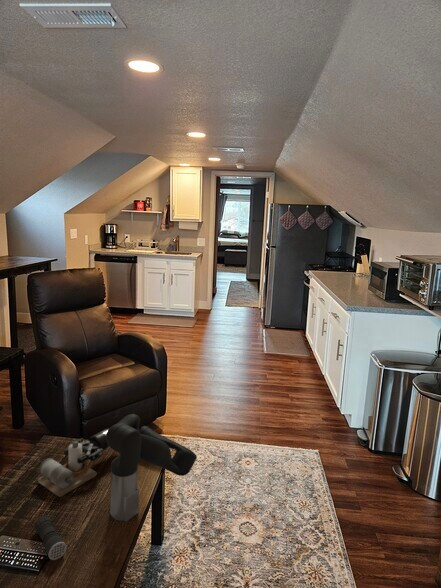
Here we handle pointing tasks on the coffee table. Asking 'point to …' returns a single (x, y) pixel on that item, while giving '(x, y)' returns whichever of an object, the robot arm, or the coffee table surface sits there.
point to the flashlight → (50, 538)
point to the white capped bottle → (75, 456)
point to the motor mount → (63, 476)
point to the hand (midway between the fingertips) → (71, 457)
